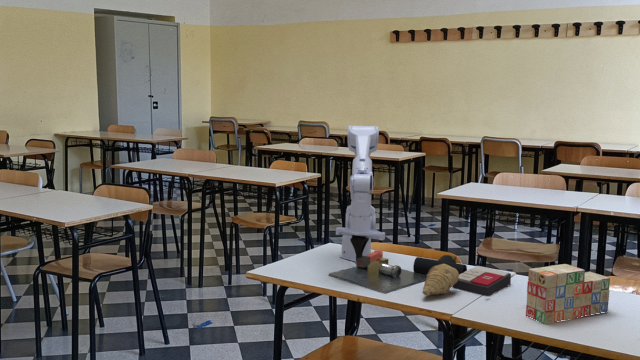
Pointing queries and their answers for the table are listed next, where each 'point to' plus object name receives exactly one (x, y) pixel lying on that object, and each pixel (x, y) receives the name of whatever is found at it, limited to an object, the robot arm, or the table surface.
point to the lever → (369, 258)
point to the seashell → (440, 279)
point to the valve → (380, 276)
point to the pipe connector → (426, 264)
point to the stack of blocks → (565, 293)
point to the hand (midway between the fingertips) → (359, 261)
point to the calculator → (483, 280)
